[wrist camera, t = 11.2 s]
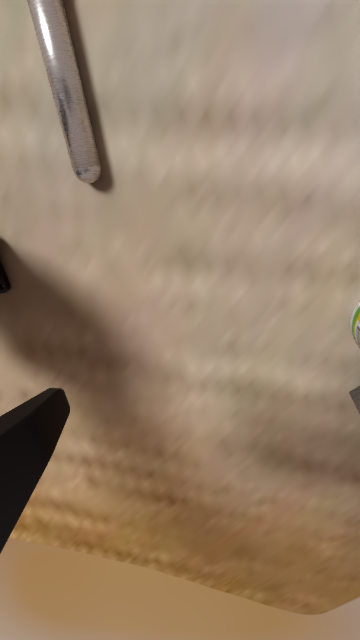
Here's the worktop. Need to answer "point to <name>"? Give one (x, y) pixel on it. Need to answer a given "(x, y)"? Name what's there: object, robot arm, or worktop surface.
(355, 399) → the v block
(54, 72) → the pin
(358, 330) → the supplement bottle
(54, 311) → the worktop surface
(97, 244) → the worktop surface
